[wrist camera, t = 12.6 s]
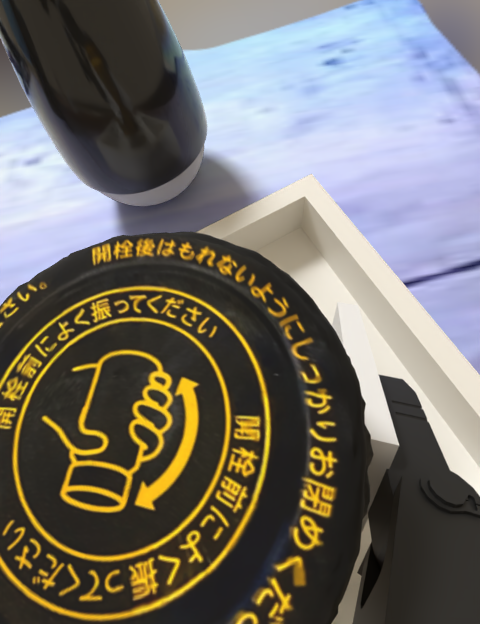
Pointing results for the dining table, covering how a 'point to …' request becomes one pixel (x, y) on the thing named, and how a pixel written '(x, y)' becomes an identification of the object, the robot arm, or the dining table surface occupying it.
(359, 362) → the robot arm
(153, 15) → the pump dispenser
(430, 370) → the tray
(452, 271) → the dining table surface
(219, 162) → the dining table surface
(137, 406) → the condiment
